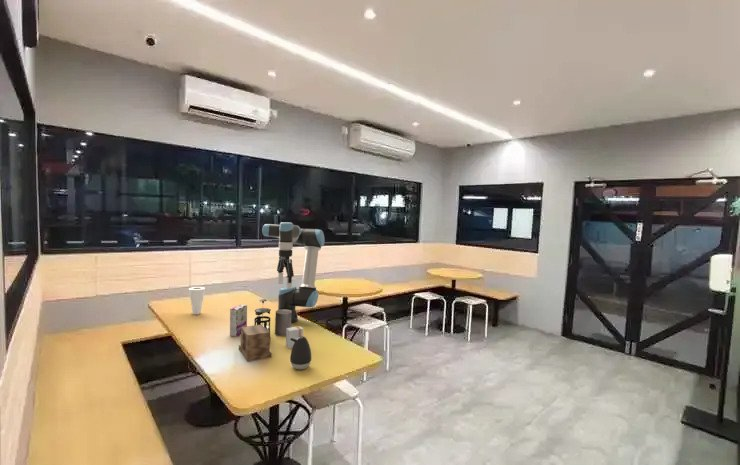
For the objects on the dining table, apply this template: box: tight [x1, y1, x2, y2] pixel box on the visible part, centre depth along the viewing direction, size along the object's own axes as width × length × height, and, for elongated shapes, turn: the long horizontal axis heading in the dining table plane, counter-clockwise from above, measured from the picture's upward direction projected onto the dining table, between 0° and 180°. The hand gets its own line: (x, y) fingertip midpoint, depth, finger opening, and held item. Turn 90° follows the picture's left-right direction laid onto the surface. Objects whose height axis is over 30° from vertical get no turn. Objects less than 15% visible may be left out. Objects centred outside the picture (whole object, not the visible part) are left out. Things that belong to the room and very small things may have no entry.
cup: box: [188, 286, 206, 315], centre depth 249 cm, size 11×11×18 cm
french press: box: [253, 298, 272, 333], centre depth 207 cm, size 12×9×23 cm
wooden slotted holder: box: [238, 324, 272, 362], centre depth 185 cm, size 13×18×12 cm
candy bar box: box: [229, 304, 248, 337], centre depth 213 cm, size 11×5×16 cm, turn 168°
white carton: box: [285, 325, 304, 350], centre depth 197 cm, size 8×5×10 cm, turn 123°
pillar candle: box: [274, 309, 292, 337], centre depth 217 cm, size 10×10×15 cm
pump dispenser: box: [289, 335, 312, 371], centre depth 170 cm, size 10×10×15 cm
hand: (284, 286), depth 203 cm, fingers open, 13 cm apart
